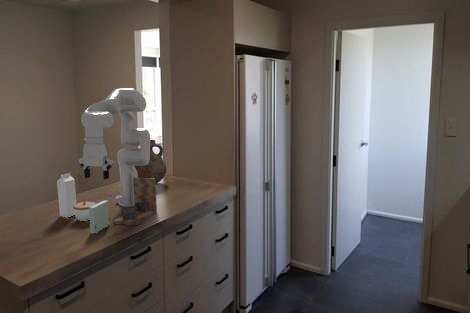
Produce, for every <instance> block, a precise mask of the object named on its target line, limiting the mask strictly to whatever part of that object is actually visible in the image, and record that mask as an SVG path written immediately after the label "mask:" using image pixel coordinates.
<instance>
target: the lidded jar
mask: <svg viewBox="0 0 470 313" xmlns="http://www.w3.org/2000/svg"><path fill="white" fill-rule="evenodd" d="M76 203H77V202H76ZM95 204H97V203H96V202H94V201H85V200H84V201H82V202H78V203H77V204H74V205H73V210H74V215H75V216H74V218H76V219H77V220H78V221H79V220H80V221H79V222H81V221H85V222H89V221H88V220H90V218H89V207H91V206H93V205H95Z"/></svg>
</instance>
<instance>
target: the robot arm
mask: <svg viewBox="0 0 470 313" xmlns="http://www.w3.org/2000/svg"><path fill="white" fill-rule="evenodd" d="M146 108H147V100H146V98H145V97H144V95H143V94H141V92H140V91H138V90H137V89H135V88H116V89H113V90H111V92H110V93H109V94H108V96H107V97H106V98H105V99H103V100H100V101H98V102H95V103H94V104H91V105H90V106H88V107H87V108H86V109H85V110H84V111H83V113H82V115H81V117H80V118H81V120H80V121H81V124H82V127H84V133H85V135H84V136H85V137H84V138H83V141H84V142H85V143H84V144H83V151H82V157H80V158H78V159H77V161H78V162H79V165H80V167H81V168H82V170H83V173H84V179H88V178H91V169H90V167H94V168H95V167H99V168H100V167H101V168H103V171H102V173H103V180H107V179H110V170H111V169H112V167H113V165H114V160H113V159H111V158H110V157H108V153H107V147H106V143H104V129H108V128H111V127H113V125H114V123H115V117H114V115H115V114H118V115H119V118H120V122H121V123H120V143H121V144H122V145H123V146H130V147H126V148H125V147H123V148H121V149H119V150H118V152H117V154H116V157H117V162H118V167H119V177H120V178H119V180H120V194H121V195H116V196H115V200H117V201H119V202H118V206H121V207H124V208H126V207H127V208H131V207H135V205H134V185H133V178H134V177H138V173H137V170H136V169H135V167H134V165H135V166H144V165H147V164H148V163H149V160H150V140H151V135H150V132H149V130H148V129H146V128H138V120H137V117H136V116H135V113H134V112H136V113H137V112H139V113H141V112H144V111H145V110H146ZM131 146H132V147H131ZM134 146H135V147H136V148H135V147H134ZM137 147H138V148H137ZM139 147H140V148H139Z"/></svg>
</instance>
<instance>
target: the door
mask: <svg viewBox="0 0 470 313" xmlns="http://www.w3.org/2000/svg"><path fill="white" fill-rule="evenodd" d="M89 218H90V221H89V230H90V232H89V233H90V234H94V233H96V234H97V233H99V232H100V230H101V231H102V230H104V229H106V228H107V227H109V226H110V225H111V218H110V205H109V200H105V199H104V200H102V201H100V202H97V203H96V204H95V205H93V206H91V207H89ZM108 225H109V226H108ZM105 227H106V228H105ZM103 228H104V229H103ZM98 231H99V232H98Z"/></svg>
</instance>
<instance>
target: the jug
mask: <svg viewBox="0 0 470 313" xmlns="http://www.w3.org/2000/svg"><path fill="white" fill-rule="evenodd" d="M153 148H159V152H158V153H156V152H154V149H153ZM163 154H164V148H163V146H162V145H161V144H159V143H156V139H150V160H149V163H148V164H147V165H144V166H135V165H134V167H135V169H136V170H137V173H138V178H155V180H156V186H157V185H159V184H158V183H159V182H161V181H162V180H163V179H164V178H165V176H166V175H167V174H166V173H167V165H166V162H165V160H164V159H163V157H162V156H163Z"/></svg>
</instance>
